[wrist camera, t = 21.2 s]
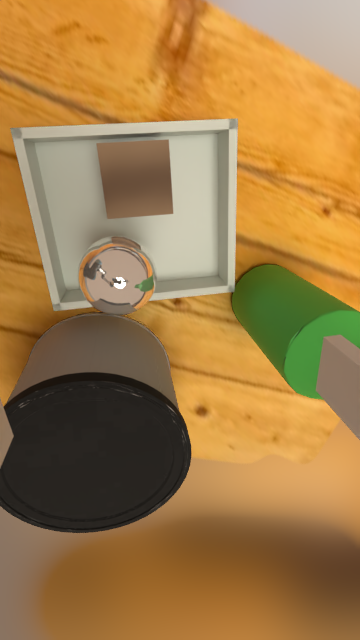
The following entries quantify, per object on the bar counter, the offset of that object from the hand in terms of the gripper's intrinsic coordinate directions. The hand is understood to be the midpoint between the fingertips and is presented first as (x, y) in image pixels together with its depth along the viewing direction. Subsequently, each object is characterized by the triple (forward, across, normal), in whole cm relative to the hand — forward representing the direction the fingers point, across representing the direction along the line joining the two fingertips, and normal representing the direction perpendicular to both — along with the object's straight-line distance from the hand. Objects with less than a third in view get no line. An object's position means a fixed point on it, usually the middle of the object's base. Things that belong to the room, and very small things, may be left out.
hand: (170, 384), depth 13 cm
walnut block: (+26, 0, +7) cm, 27 cm away
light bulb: (+26, -2, 0) cm, 26 cm away
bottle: (+27, +15, -8) cm, 32 cm away
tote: (+27, 0, +4) cm, 27 cm away
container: (+27, -7, -16) cm, 32 cm away
